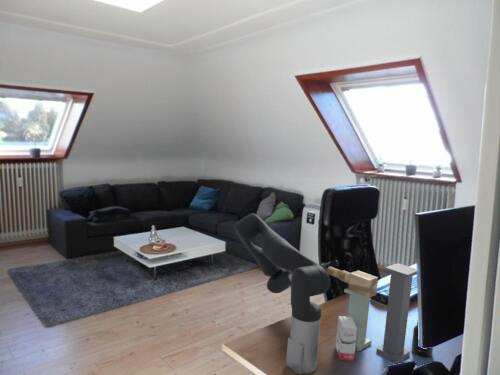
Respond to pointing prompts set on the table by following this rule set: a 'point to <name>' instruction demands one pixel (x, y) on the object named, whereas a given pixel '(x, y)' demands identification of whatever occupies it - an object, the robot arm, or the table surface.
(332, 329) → the table surface
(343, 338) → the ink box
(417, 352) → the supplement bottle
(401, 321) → the tall stand
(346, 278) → the wooden leg
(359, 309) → the low stand
